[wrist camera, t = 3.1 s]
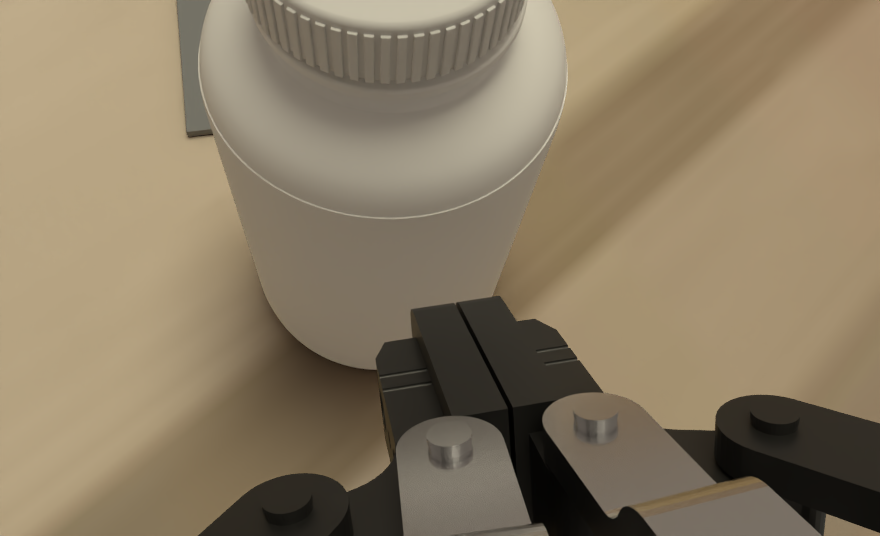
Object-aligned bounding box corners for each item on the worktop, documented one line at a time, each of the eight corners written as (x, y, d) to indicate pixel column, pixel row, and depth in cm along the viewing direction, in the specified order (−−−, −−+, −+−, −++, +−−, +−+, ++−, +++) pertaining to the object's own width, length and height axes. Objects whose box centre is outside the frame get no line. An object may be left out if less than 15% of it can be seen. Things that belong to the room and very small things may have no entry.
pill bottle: (332, 424, 25) (278, 174, 11) (222, 222, 27) (68, -184, 14) (542, 307, 27) (715, -24, 13) (422, 129, 29) (462, -301, 16)
